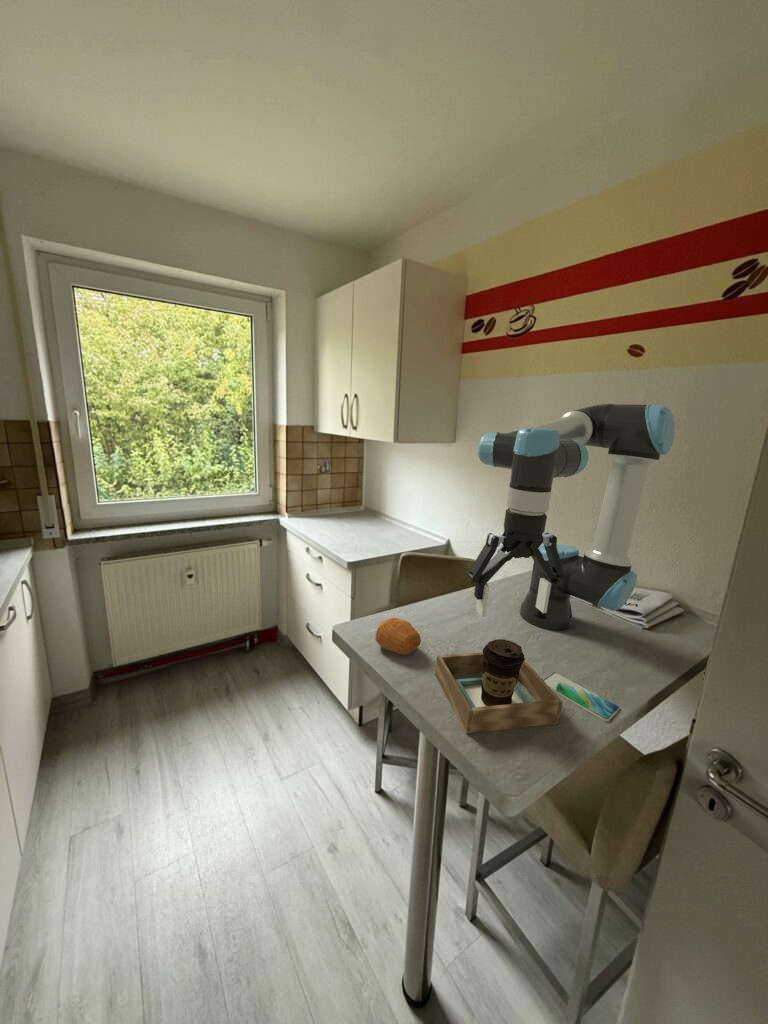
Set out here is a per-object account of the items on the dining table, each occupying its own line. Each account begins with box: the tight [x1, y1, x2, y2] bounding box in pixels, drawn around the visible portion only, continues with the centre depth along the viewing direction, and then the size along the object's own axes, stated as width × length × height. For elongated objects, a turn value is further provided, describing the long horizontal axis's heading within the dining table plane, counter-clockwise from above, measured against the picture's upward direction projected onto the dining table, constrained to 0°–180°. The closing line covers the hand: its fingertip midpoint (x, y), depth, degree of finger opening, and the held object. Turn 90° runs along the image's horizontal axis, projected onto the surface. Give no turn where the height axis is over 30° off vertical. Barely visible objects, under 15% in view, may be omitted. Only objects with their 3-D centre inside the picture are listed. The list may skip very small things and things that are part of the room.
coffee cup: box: [481, 638, 526, 706], centre depth 85 cm, size 9×8×13 cm
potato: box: [375, 617, 422, 656], centre depth 103 cm, size 9×11×8 cm
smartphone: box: [542, 672, 620, 723], centre depth 91 cm, size 7×1×15 cm
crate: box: [434, 652, 564, 735], centre depth 88 cm, size 20×18×5 cm
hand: (511, 611), depth 83 cm, fingers open, 13 cm apart
